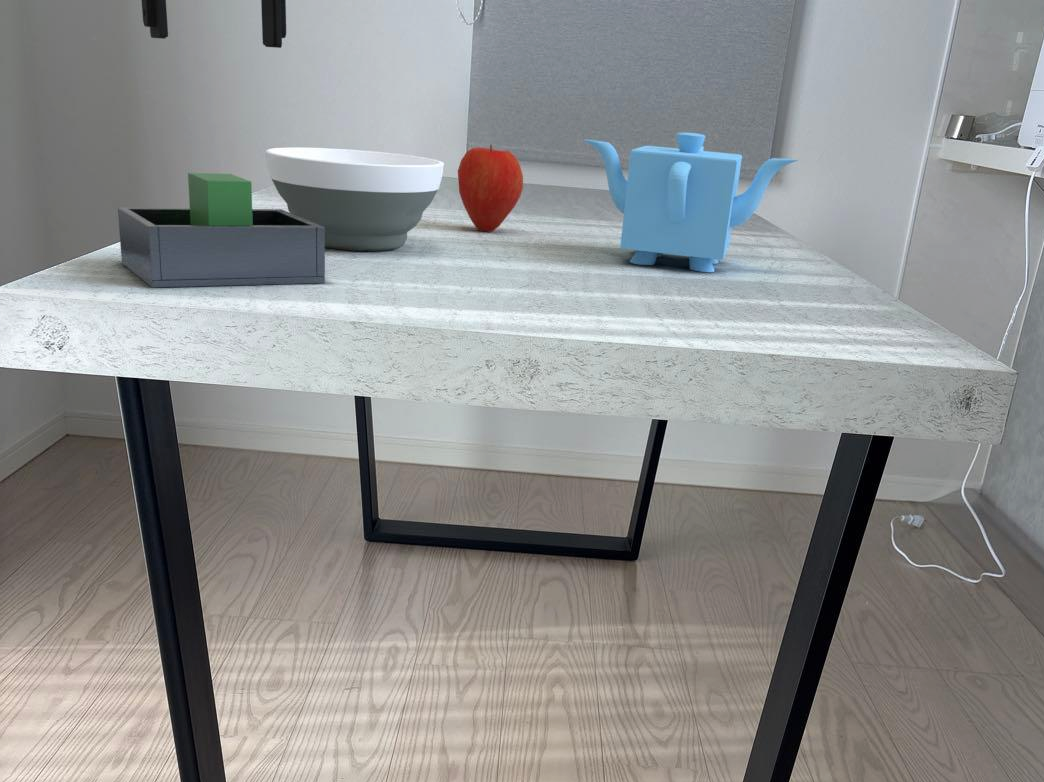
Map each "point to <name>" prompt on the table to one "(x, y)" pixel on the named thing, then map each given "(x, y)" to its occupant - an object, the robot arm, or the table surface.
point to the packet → (219, 199)
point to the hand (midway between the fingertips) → (217, 42)
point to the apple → (489, 186)
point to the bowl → (356, 193)
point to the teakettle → (682, 199)
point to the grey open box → (221, 249)
